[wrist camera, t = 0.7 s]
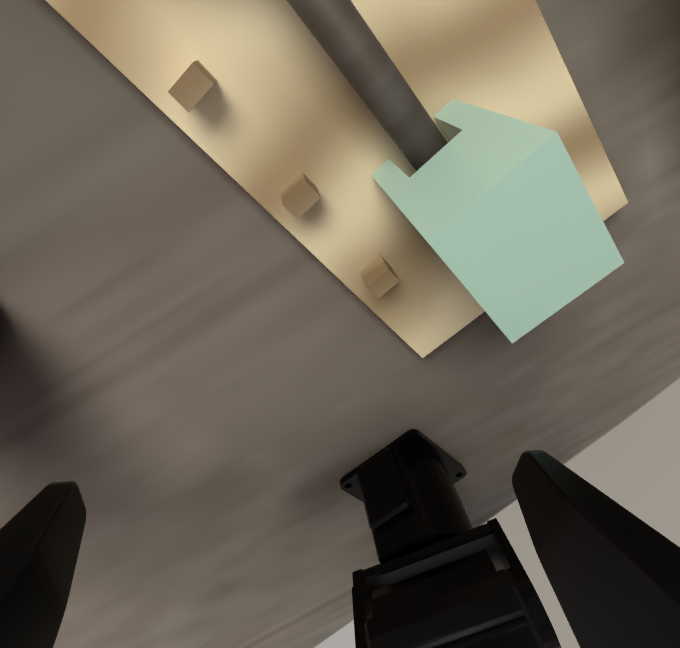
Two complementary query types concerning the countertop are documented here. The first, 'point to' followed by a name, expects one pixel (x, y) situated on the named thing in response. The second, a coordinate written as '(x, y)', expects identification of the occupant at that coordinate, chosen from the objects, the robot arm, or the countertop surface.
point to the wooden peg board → (348, 117)
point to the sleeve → (506, 215)
